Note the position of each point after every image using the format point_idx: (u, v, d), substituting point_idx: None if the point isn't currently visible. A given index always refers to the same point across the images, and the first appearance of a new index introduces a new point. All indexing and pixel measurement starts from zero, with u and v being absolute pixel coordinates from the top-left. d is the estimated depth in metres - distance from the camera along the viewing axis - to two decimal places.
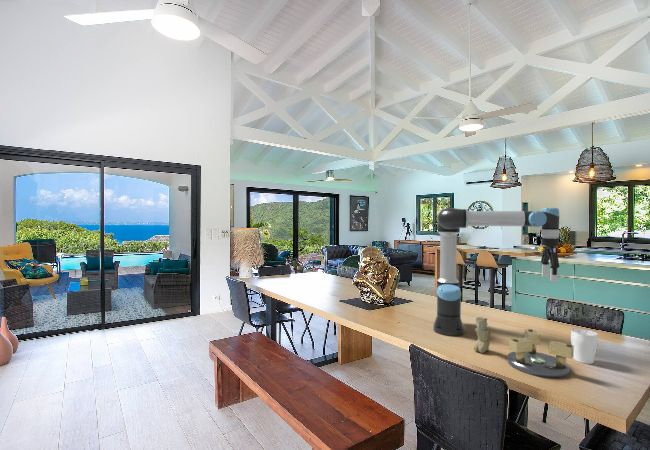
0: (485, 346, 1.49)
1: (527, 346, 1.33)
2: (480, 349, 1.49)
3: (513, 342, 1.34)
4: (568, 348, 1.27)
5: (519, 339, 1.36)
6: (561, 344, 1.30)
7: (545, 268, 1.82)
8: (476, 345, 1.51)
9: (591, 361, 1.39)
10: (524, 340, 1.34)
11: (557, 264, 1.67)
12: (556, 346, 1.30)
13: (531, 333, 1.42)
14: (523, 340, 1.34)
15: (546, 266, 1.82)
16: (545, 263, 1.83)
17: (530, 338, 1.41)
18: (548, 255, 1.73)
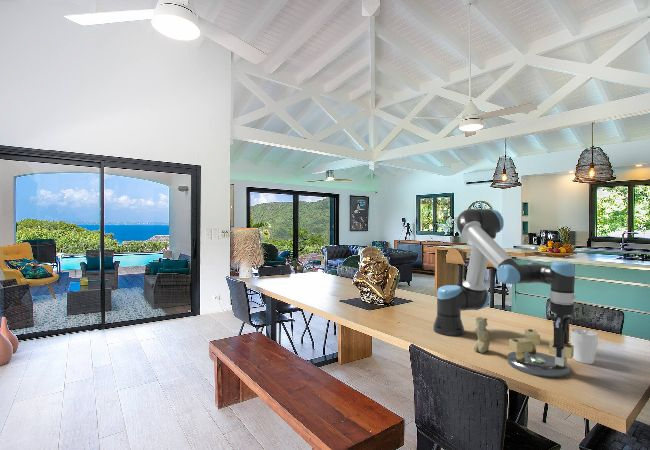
0: (485, 346, 1.49)
1: (527, 346, 1.33)
2: (480, 349, 1.49)
3: (513, 342, 1.34)
4: (568, 348, 1.27)
5: (519, 339, 1.36)
6: None
7: None
8: (476, 345, 1.51)
9: (591, 361, 1.39)
10: (524, 340, 1.34)
11: (559, 345, 1.26)
12: None
13: (531, 333, 1.42)
14: (523, 340, 1.34)
15: None
16: (563, 342, 1.33)
17: (530, 338, 1.41)
18: None
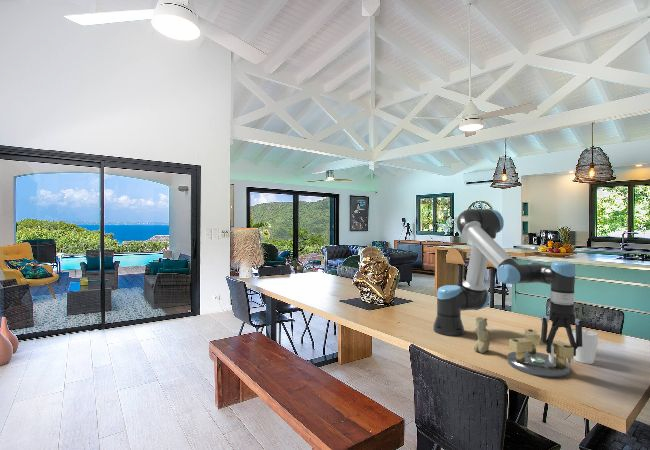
0: (485, 346, 1.49)
1: (527, 346, 1.33)
2: (480, 349, 1.49)
3: (513, 342, 1.34)
4: (562, 348, 1.28)
5: (519, 339, 1.36)
6: (559, 344, 1.31)
7: None
8: (476, 345, 1.51)
9: (591, 361, 1.39)
10: (524, 340, 1.34)
11: (542, 339, 1.32)
12: (554, 345, 1.32)
13: (531, 333, 1.42)
14: (523, 340, 1.34)
15: None
16: (572, 344, 1.30)
17: (530, 338, 1.41)
18: (552, 325, 1.33)
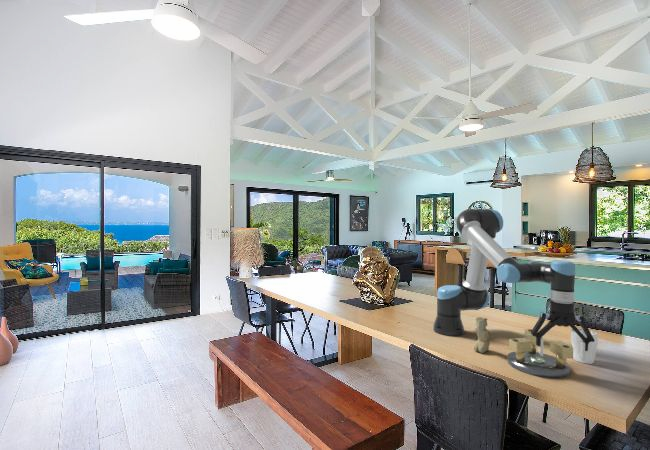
0: (485, 346, 1.49)
1: (527, 346, 1.33)
2: (480, 349, 1.49)
3: (513, 342, 1.34)
4: (561, 347, 1.28)
5: (519, 339, 1.36)
6: (559, 344, 1.31)
7: (581, 346, 1.29)
8: (476, 345, 1.51)
9: (591, 361, 1.39)
10: (524, 340, 1.34)
11: (533, 331, 1.33)
12: (554, 345, 1.32)
13: None
14: (523, 340, 1.34)
15: (581, 344, 1.28)
16: (583, 340, 1.28)
17: (530, 338, 1.41)
18: (548, 322, 1.33)
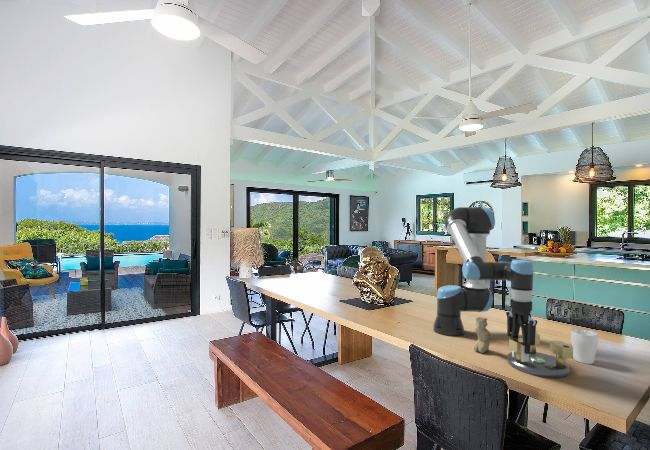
0: (485, 346, 1.49)
1: None
2: (480, 349, 1.49)
3: (513, 342, 1.34)
4: (561, 347, 1.28)
5: (519, 339, 1.36)
6: (559, 344, 1.31)
7: None
8: (476, 345, 1.51)
9: (591, 361, 1.39)
10: None
11: (533, 342, 1.29)
12: (553, 345, 1.32)
13: None
14: None
15: None
16: (515, 337, 1.38)
17: None
18: (522, 326, 1.32)
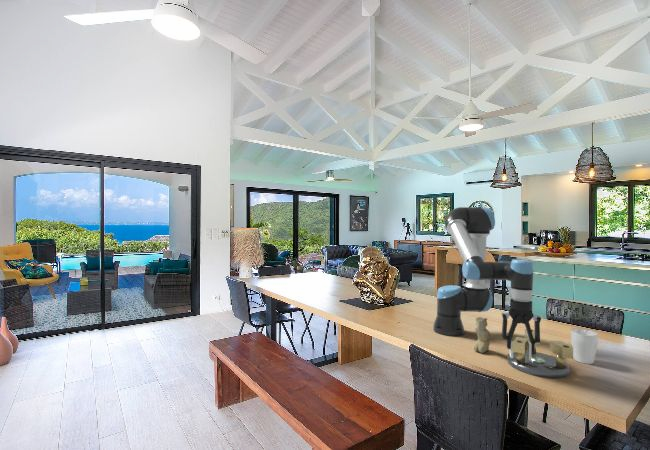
0: (485, 346, 1.49)
1: None
2: (480, 349, 1.49)
3: (519, 344, 1.32)
4: (561, 347, 1.28)
5: (518, 339, 1.35)
6: (559, 344, 1.31)
7: None
8: (476, 345, 1.51)
9: (591, 361, 1.39)
10: (523, 339, 1.35)
11: None
12: (553, 345, 1.32)
13: None
14: (524, 340, 1.35)
15: None
16: None
17: None
18: (529, 325, 1.32)
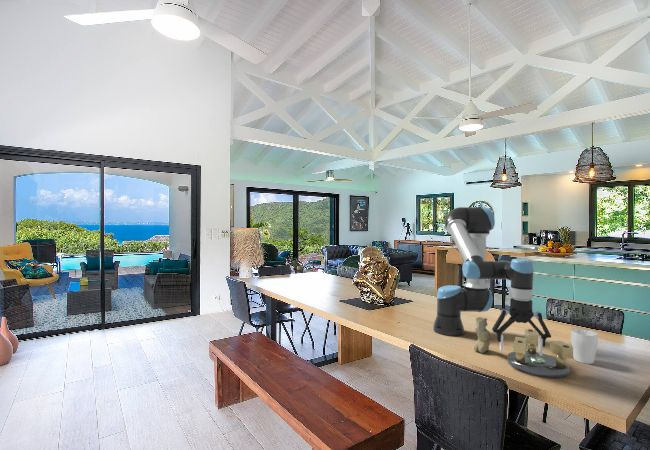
0: (485, 346, 1.49)
1: (526, 344, 1.35)
2: (480, 349, 1.49)
3: (520, 344, 1.32)
4: (561, 347, 1.28)
5: (518, 339, 1.35)
6: (559, 344, 1.31)
7: (502, 339, 1.37)
8: (476, 345, 1.51)
9: (591, 361, 1.39)
10: (522, 339, 1.35)
11: (548, 332, 1.32)
12: (553, 345, 1.32)
13: (531, 333, 1.42)
14: (524, 340, 1.35)
15: None
16: None
17: (530, 338, 1.41)
18: (533, 323, 1.32)
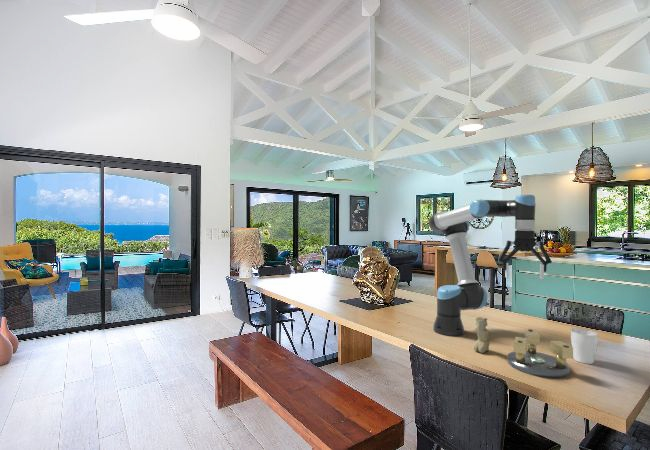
0: (485, 346, 1.49)
1: (526, 344, 1.35)
2: (480, 349, 1.49)
3: (520, 344, 1.32)
4: (561, 347, 1.28)
5: (518, 339, 1.35)
6: (559, 344, 1.31)
7: None
8: (476, 345, 1.51)
9: (591, 361, 1.39)
10: (522, 339, 1.35)
11: None
12: (553, 345, 1.32)
13: (531, 333, 1.42)
14: (524, 340, 1.35)
15: None
16: None
17: (530, 338, 1.41)
18: (535, 250, 1.47)
